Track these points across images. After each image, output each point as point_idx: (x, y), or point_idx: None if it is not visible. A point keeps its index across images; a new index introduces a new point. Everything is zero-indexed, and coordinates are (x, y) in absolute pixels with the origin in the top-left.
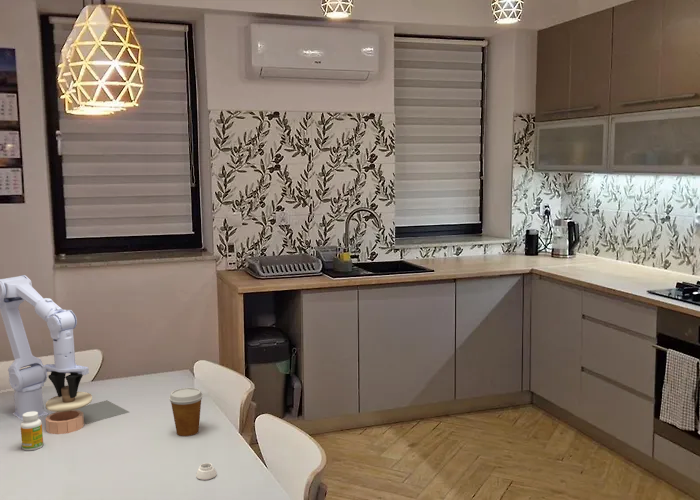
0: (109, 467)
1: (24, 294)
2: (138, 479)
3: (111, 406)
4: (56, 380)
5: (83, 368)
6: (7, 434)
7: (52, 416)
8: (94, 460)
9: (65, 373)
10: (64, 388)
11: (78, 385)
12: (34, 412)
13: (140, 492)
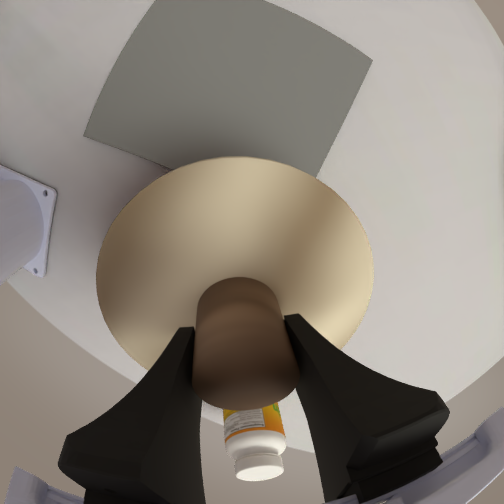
0: (445, 367)
1: None
2: (477, 363)
3: (251, 15)
4: (201, 480)
5: (490, 473)
6: (101, 357)
7: None
8: (420, 367)
9: (153, 452)
10: (234, 396)
11: (344, 355)
12: (264, 469)
13: (477, 377)
